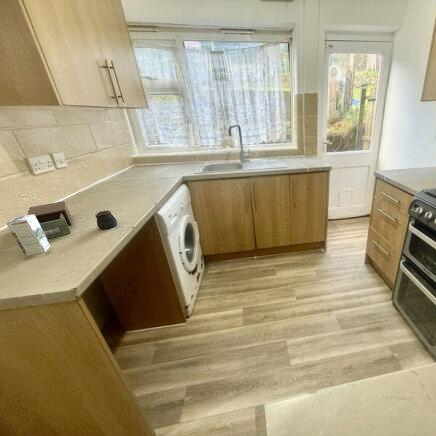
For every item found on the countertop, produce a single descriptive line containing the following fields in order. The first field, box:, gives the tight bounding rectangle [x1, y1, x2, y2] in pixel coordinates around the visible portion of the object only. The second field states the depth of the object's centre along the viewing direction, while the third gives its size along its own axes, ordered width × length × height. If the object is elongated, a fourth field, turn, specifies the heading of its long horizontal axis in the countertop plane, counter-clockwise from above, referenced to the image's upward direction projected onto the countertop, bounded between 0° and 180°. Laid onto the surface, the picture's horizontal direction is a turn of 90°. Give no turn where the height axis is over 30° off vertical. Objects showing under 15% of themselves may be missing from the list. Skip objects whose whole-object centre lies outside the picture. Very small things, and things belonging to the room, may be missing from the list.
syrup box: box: [6, 214, 51, 257], centre depth 90 cm, size 6×6×14 cm
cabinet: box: [26, 200, 73, 227], centre depth 114 cm, size 17×13×9 cm
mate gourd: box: [95, 210, 118, 231], centre depth 109 cm, size 7×8×10 cm
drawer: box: [36, 212, 71, 240], centre depth 105 cm, size 20×11×7 cm, turn 42°
